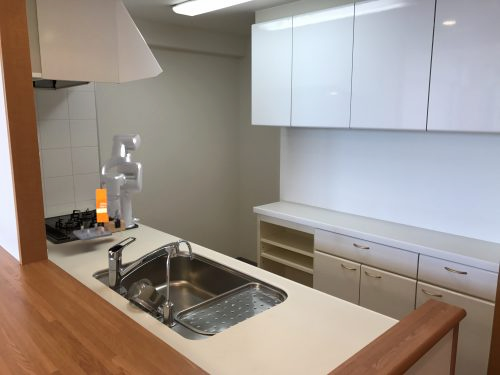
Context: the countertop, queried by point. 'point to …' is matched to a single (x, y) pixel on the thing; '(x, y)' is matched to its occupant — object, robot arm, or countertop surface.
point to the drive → (111, 226)
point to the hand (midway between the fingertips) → (114, 225)
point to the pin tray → (92, 233)
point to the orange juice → (101, 205)
